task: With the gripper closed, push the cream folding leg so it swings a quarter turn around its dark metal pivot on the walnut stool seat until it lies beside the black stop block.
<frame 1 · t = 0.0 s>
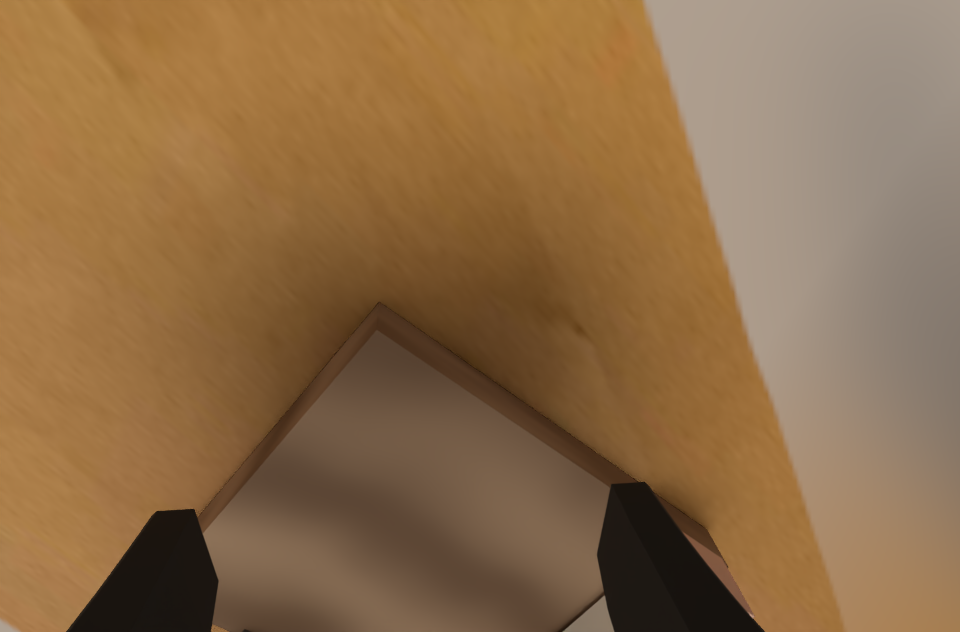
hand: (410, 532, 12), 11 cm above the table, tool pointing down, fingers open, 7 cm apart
stool seat: (449, 540, 26), on the table
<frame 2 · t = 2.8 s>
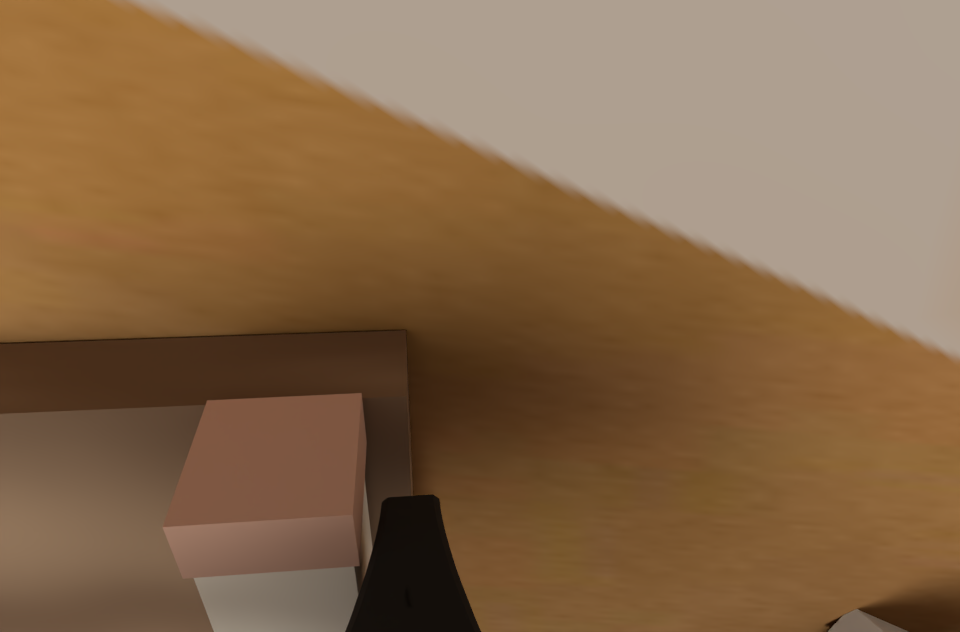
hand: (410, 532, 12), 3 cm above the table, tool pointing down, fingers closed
stool seat: (78, 554, 16), on the table
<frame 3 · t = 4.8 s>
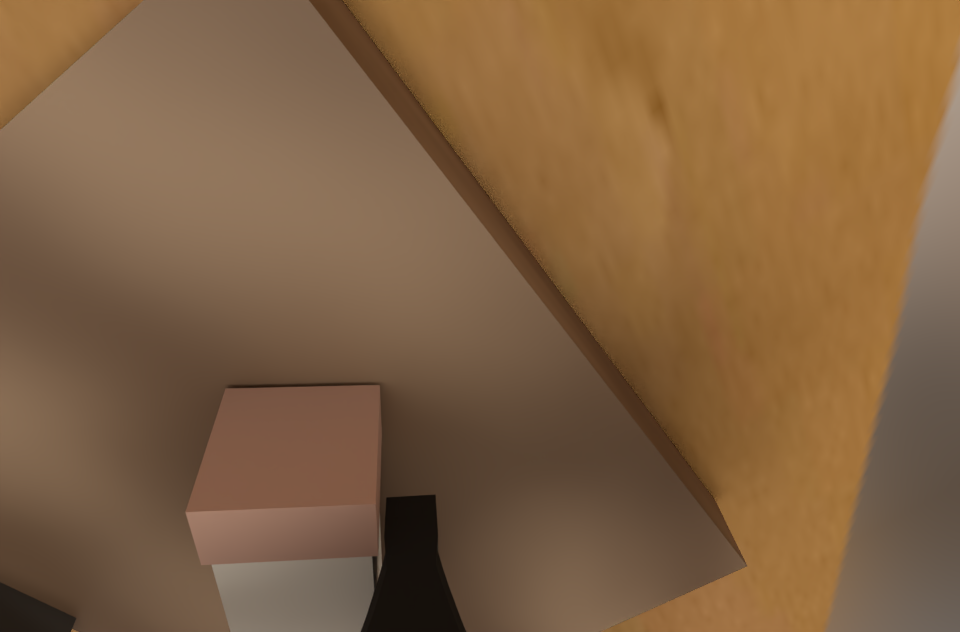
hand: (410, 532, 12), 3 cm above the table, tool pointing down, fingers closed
stool seat: (319, 443, 15), on the table
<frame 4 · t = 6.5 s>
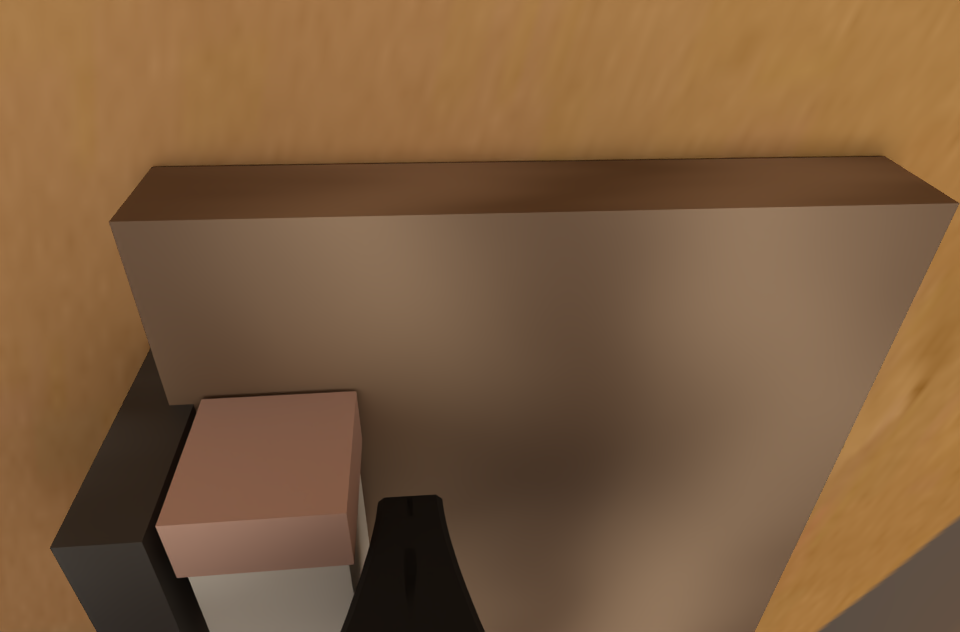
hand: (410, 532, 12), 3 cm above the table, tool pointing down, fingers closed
stool seat: (513, 480, 16), on the table
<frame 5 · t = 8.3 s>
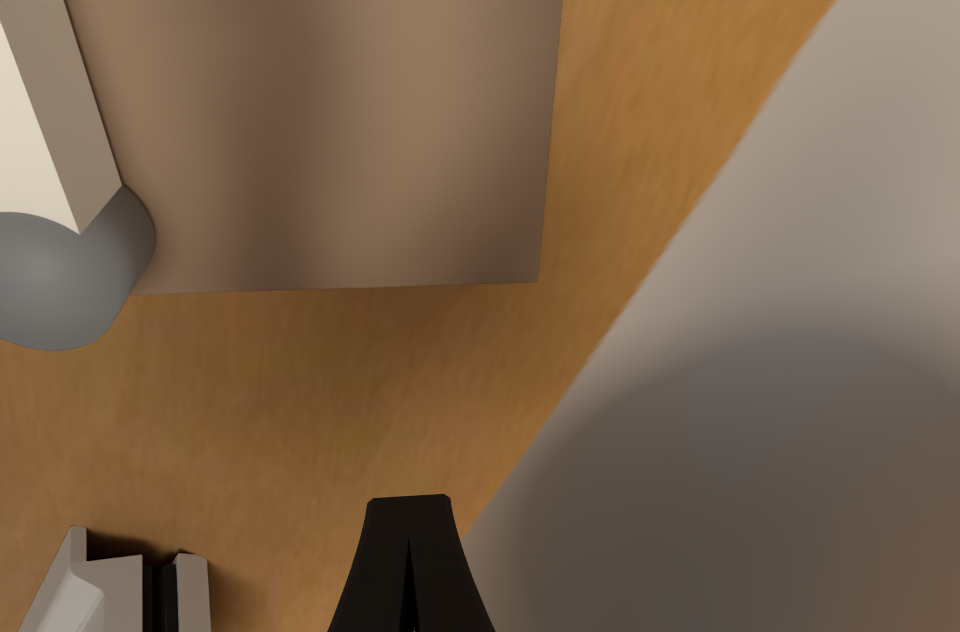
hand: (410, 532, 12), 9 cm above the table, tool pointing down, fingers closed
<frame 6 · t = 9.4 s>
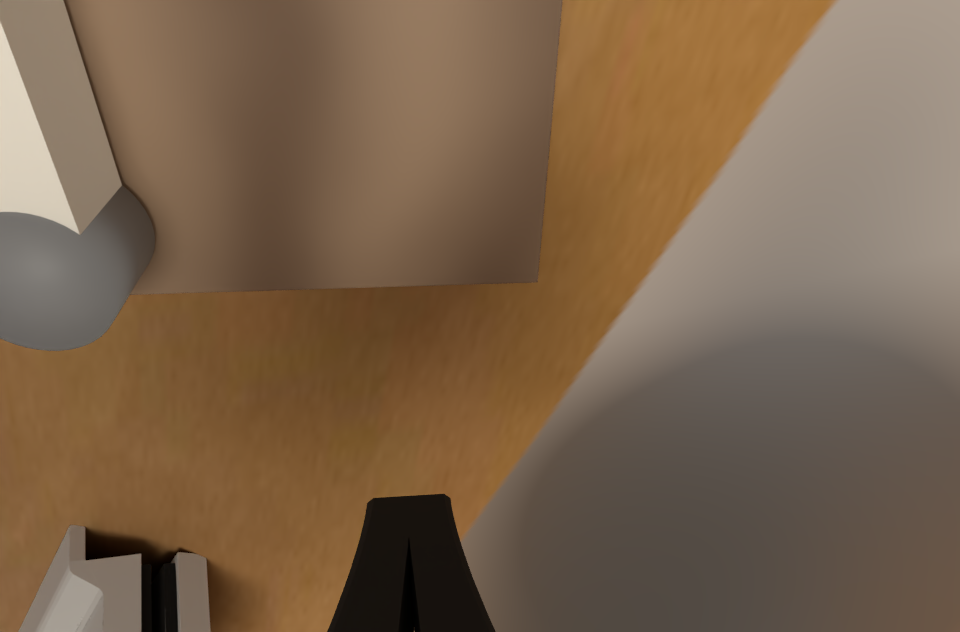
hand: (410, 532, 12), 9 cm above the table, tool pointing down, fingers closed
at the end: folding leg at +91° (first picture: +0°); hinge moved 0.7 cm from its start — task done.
